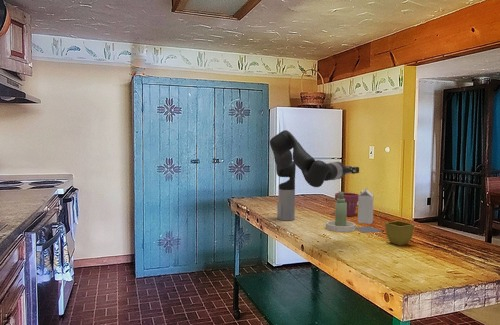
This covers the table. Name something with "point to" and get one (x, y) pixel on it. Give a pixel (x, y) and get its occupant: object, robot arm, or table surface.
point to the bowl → (341, 227)
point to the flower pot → (399, 232)
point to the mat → (367, 229)
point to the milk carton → (365, 207)
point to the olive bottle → (340, 210)
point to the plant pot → (350, 202)
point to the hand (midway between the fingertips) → (347, 168)
